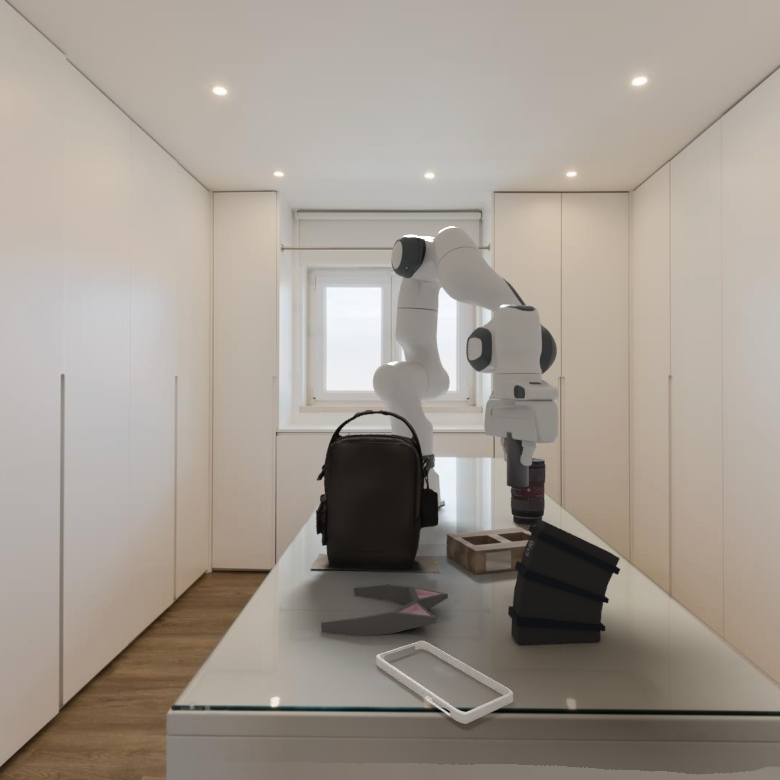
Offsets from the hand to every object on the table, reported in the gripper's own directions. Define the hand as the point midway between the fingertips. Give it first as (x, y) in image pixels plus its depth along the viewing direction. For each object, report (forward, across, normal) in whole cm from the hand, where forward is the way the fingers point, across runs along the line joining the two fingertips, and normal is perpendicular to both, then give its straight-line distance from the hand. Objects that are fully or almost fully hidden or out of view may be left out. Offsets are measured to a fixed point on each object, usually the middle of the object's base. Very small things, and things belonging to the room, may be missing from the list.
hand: (517, 463), depth 107 cm
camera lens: (+18, -25, +18) cm, 36 cm away
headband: (+18, +18, -32) cm, 41 cm away
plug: (+4, 0, 0) cm, 4 cm away
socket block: (+18, 0, -4) cm, 18 cm away
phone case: (+18, +36, -32) cm, 52 cm away
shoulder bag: (+18, -5, -26) cm, 32 cm away
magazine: (+18, +32, -13) cm, 39 cm away
